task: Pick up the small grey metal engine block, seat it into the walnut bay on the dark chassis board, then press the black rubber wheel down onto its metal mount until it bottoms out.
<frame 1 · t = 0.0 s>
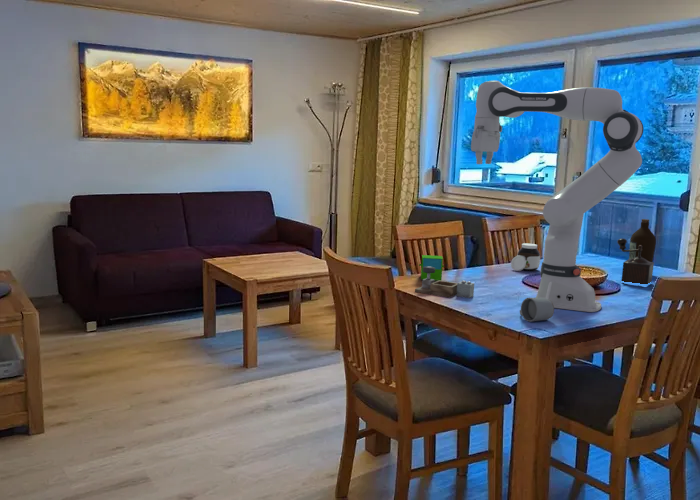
hand: (483, 164, 238), 48 cm above the table, tool pointing down, fingers open, 8 cm apart
manual coffee grinder: (630, 283, 270), on the table
chassis: (438, 291, 240), on the table
spread jar: (524, 270, 289), on the table
olive oil: (638, 274, 290), on the table
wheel: (428, 273, 241), point 6 cm above the table, slide at 2.8 cm
engine block: (465, 296, 234), on the table
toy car: (430, 279, 262), on the table
ceramic mug: (533, 319, 207), on the table
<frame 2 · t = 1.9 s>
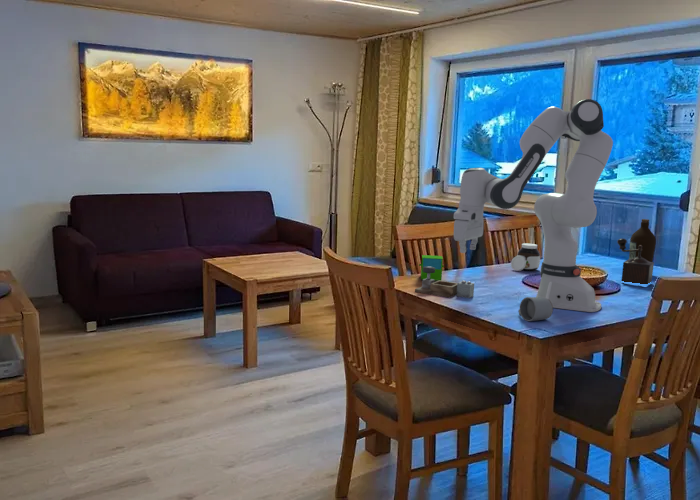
hand: (467, 251, 231), 17 cm above the table, tool pointing down, fingers open, 8 cm apart
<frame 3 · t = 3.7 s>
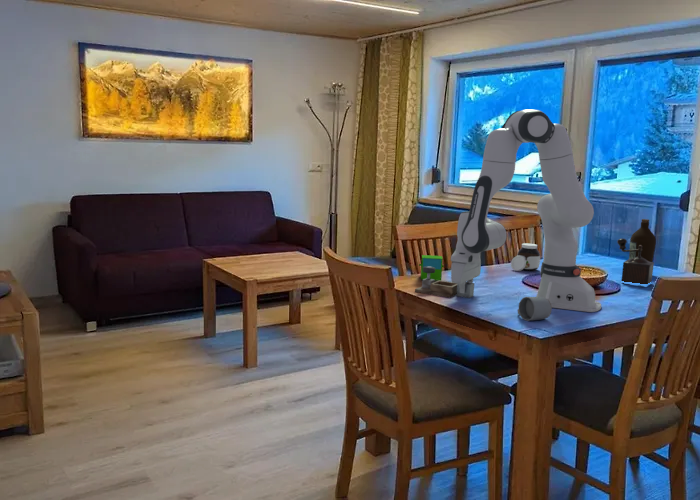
hand: (465, 291, 234), 2 cm above the table, tool pointing down, fingers closed on engine block, 4 cm apart
engine block: (465, 296, 234), on the table, touching gripper
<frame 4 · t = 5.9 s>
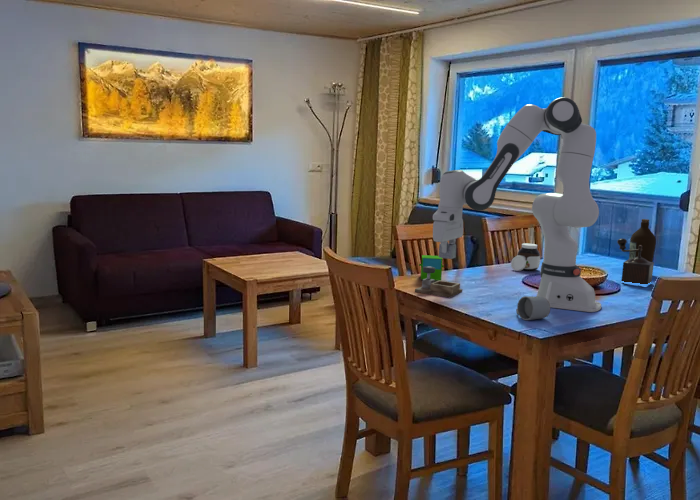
hand: (447, 251, 236), 16 cm above the table, tool pointing down, fingers closed on engine block, 4 cm apart
engine block: (447, 257, 236), point 13 cm above the table, touching gripper
when the fingers open (4 cm above the table, at t = 7.8 s): engine block drops 1 cm, resting on chassis.
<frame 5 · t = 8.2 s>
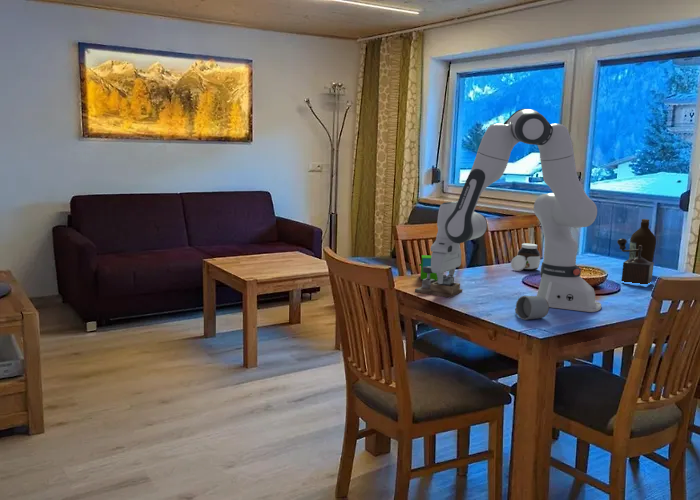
hand: (445, 281, 238), 4 cm above the table, tool pointing down, fingers open, 8 cm apart
engine block: (445, 290, 238), point 1 cm above the table, touching chassis
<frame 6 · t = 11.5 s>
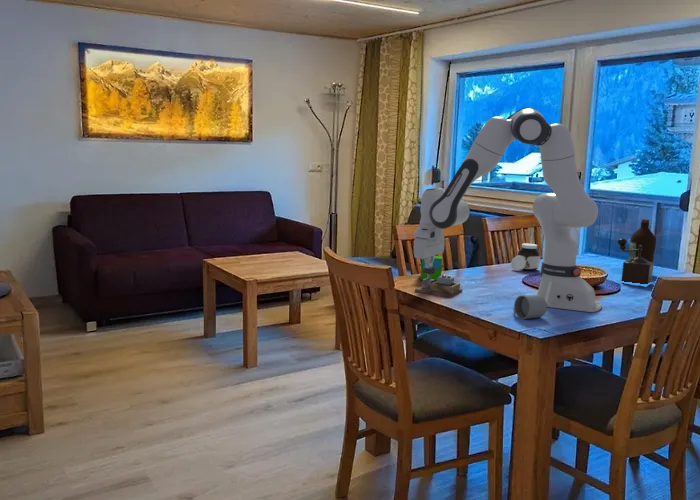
hand: (428, 267, 240), 9 cm above the table, tool pointing down, fingers closed, pressing on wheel
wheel: (428, 273, 241), point 6 cm above the table, slide at 2.6 cm, touching gripper
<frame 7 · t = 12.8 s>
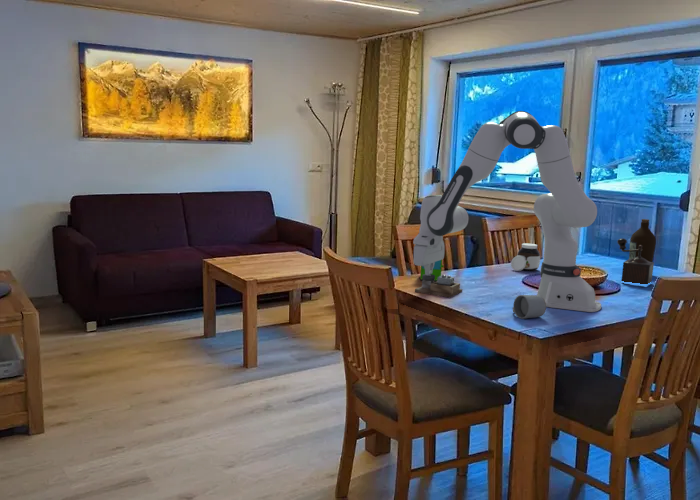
hand: (428, 274, 241), 6 cm above the table, tool pointing down, fingers closed
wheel: (428, 280, 241), point 4 cm above the table, slide at -0.1 cm
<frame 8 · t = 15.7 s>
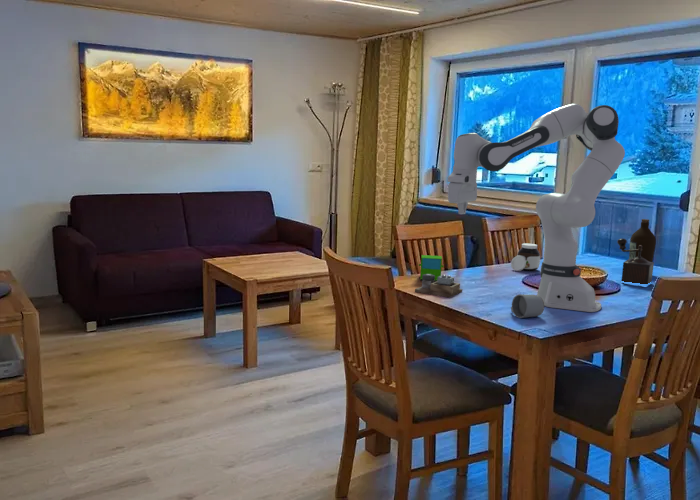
hand: (461, 214, 239), 29 cm above the table, tool pointing down, fingers closed
at the end: engine block 0.1 cm from the target spot on the chassis, point 1.0 cm above the chassis's base; engine block tilted 0°; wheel slide at -0.1 cm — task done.
